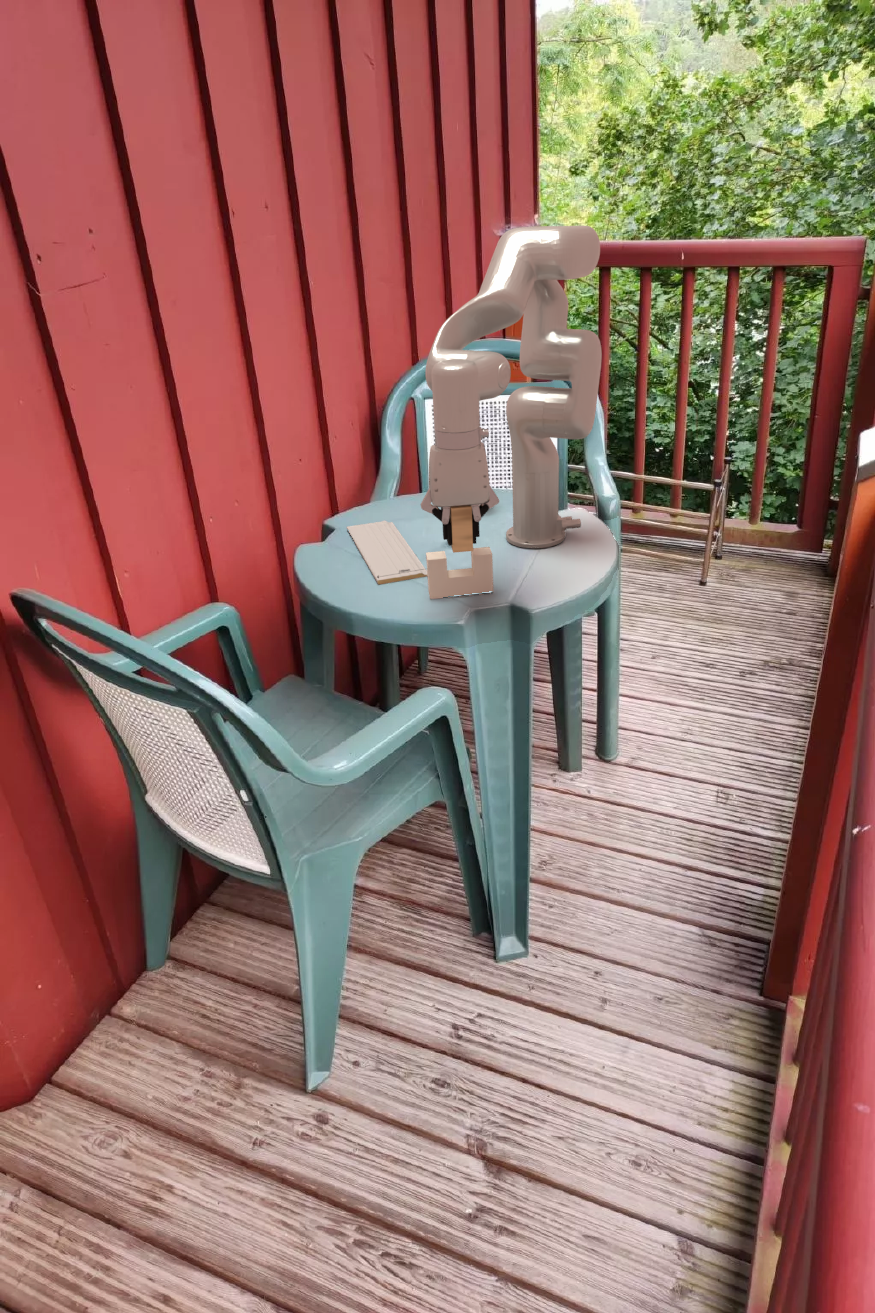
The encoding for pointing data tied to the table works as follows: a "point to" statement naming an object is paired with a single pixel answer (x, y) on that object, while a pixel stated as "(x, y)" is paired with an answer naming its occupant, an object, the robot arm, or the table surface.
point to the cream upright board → (459, 574)
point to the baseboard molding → (386, 552)
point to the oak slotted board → (461, 528)
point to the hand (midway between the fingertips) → (461, 540)
